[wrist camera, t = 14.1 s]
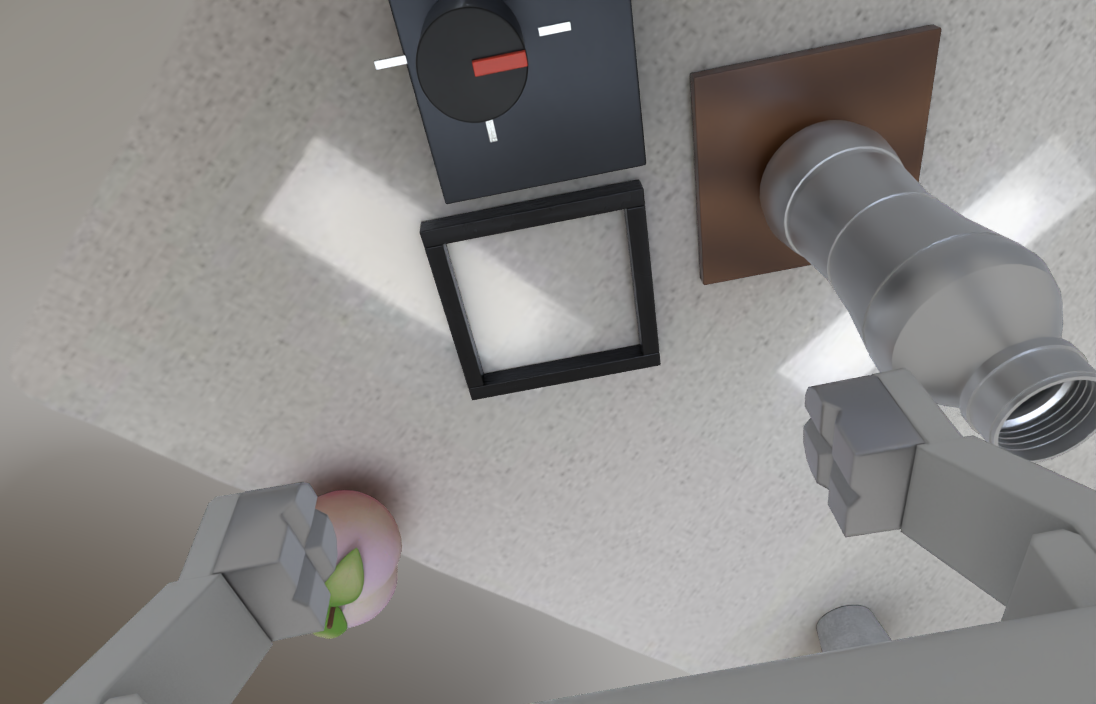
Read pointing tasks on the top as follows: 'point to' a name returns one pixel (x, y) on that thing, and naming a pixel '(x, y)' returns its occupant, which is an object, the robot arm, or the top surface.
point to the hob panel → (541, 101)
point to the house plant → (849, 628)
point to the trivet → (781, 111)
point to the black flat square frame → (530, 216)
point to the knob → (472, 59)
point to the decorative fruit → (359, 559)
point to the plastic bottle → (933, 289)
